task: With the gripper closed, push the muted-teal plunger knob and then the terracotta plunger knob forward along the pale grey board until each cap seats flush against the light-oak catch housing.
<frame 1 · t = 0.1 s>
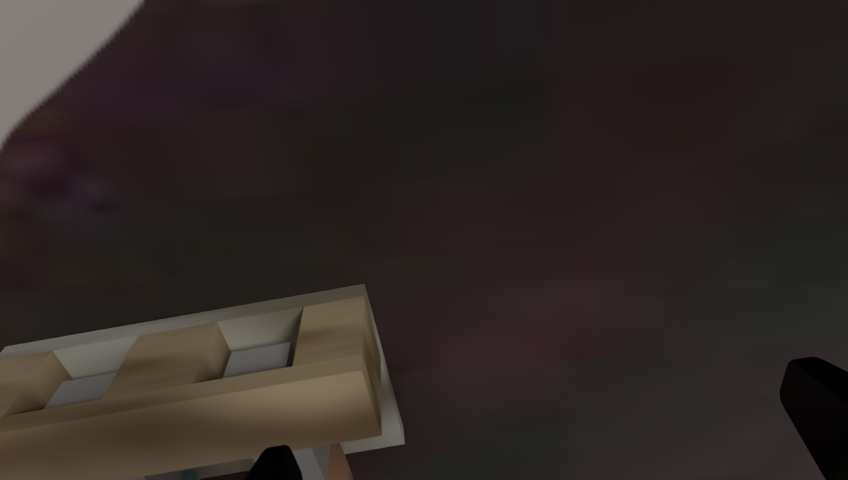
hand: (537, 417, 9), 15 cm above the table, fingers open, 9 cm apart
teal knob: (128, 466, 25), point 4 cm above the table, slide at 0.0 cm
terracotta knob: (288, 438, 25), point 4 cm above the table, slide at 0.0 cm
mount: (224, 392, 28), on the table
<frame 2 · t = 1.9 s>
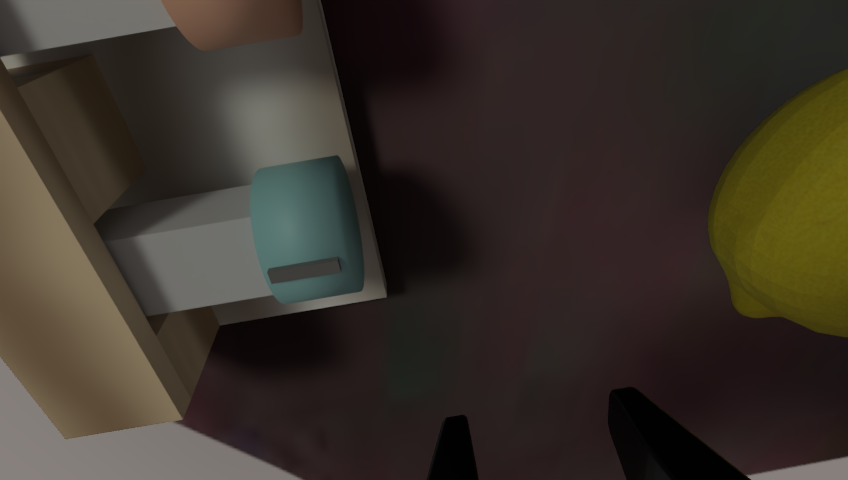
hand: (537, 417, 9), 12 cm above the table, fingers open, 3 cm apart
teal knob: (198, 251, 17), point 4 cm above the table, slide at 0.0 cm
lemon: (779, 150, 21), on the table
mount: (177, 97, 18), on the table
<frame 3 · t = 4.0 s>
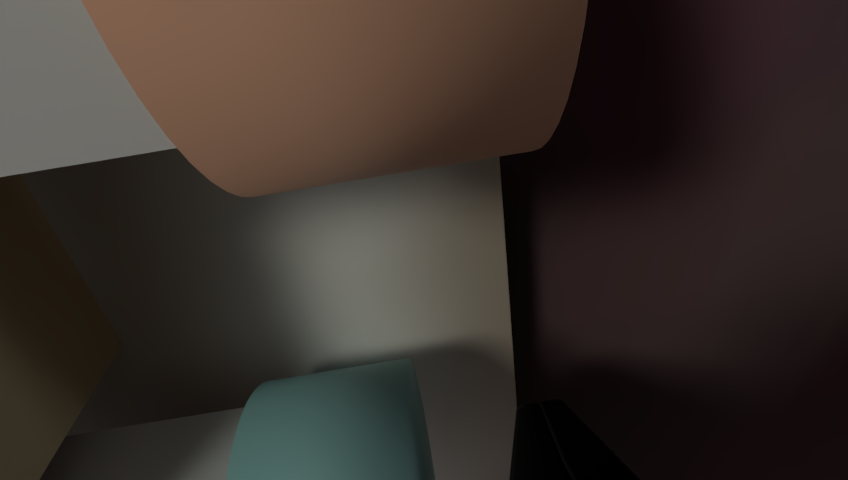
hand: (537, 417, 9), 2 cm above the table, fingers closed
mount: (181, 211, 9), on the table
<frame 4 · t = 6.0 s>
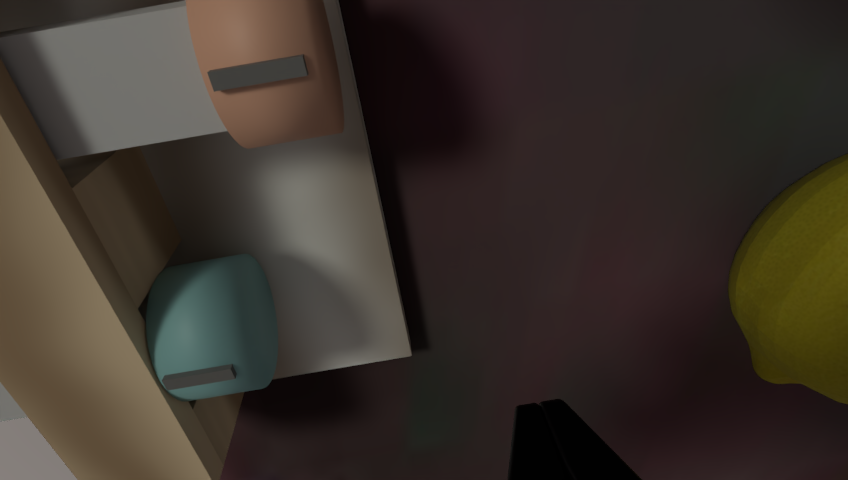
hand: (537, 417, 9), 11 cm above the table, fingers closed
teal knob: (107, 346, 17), point 4 cm above the table, slide at 4.2 cm
lemon: (796, 213, 21), on the table
terracotta knob: (128, 78, 13), point 4 cm above the table, slide at 0.0 cm
mount: (212, 171, 18), on the table
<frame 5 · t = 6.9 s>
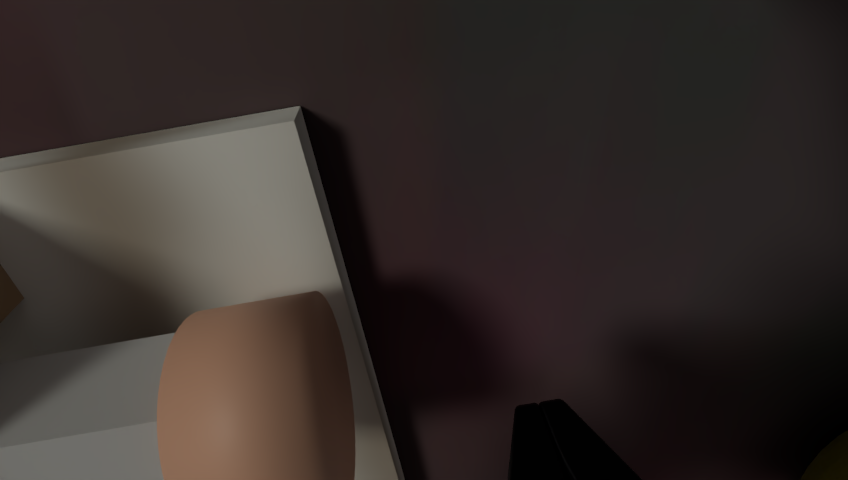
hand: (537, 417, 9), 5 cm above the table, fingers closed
terracotta knob: (93, 442, 11), point 4 cm above the table, slide at 0.0 cm
mount: (202, 428, 16), on the table
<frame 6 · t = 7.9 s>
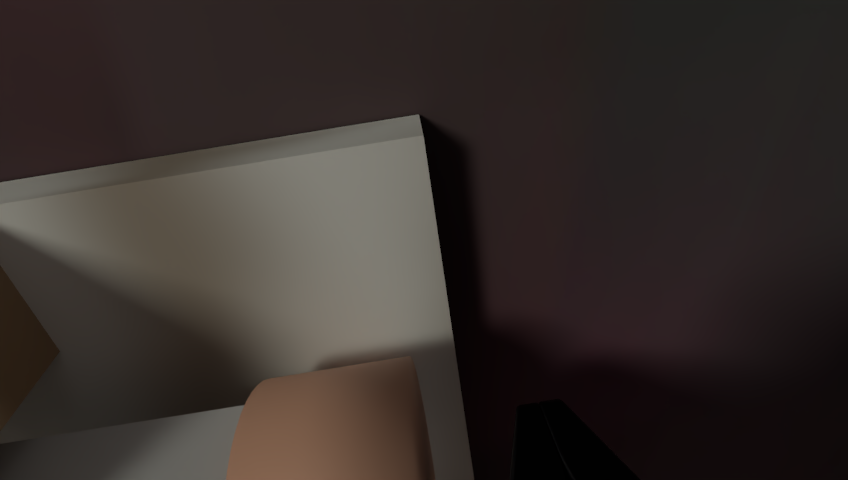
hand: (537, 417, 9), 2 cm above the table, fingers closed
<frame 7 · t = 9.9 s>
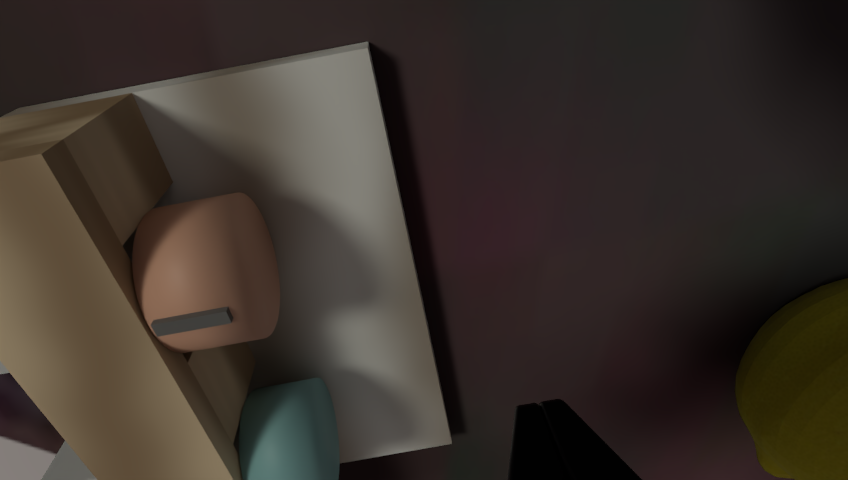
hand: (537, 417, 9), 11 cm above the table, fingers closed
teal knob: (197, 461, 20), point 4 cm above the table, slide at 4.2 cm
lemon: (796, 314, 24), on the table
terracotta knob: (93, 296, 16), point 4 cm above the table, slide at 4.2 cm
mount: (281, 302, 21), on the table
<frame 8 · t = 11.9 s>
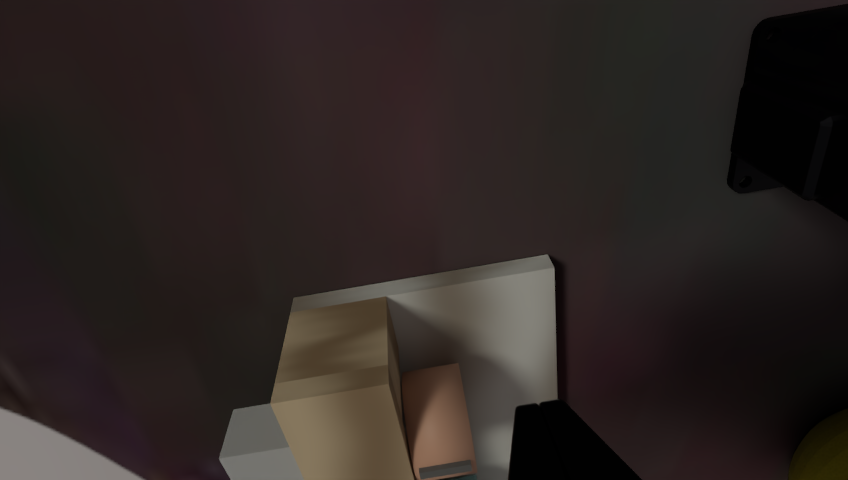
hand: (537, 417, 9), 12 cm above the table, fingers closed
lemon: (835, 418, 30), on the table
terracotta knob: (352, 437, 22), point 4 cm above the table, slide at 4.2 cm
mount: (447, 416, 27), on the table
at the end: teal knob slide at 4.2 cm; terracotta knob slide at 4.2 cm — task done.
